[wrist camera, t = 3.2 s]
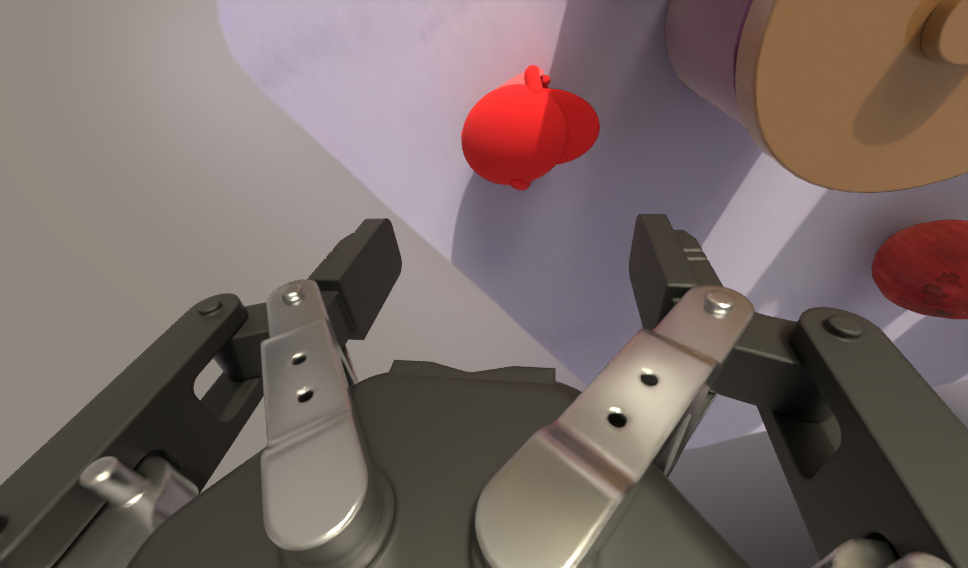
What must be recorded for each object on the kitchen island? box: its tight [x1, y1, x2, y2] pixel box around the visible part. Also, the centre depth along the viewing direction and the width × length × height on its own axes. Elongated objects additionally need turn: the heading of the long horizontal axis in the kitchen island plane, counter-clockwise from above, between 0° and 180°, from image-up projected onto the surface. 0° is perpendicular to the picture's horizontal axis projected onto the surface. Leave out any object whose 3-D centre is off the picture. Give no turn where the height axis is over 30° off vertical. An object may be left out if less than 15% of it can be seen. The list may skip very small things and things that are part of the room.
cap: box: [461, 65, 600, 190], centre depth 22 cm, size 8×6×6 cm
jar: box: [665, 0, 968, 193], centre depth 14 cm, size 10×10×13 cm
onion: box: [872, 220, 968, 319], centre depth 22 cm, size 6×6×8 cm
